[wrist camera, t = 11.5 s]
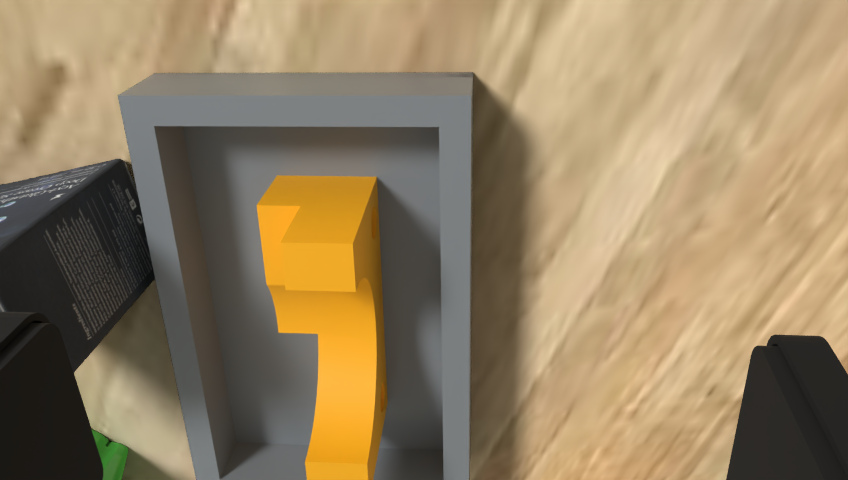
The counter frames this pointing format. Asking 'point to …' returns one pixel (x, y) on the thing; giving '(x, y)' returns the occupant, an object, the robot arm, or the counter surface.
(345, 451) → the orange toy block
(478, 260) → the counter surface
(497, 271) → the counter surface
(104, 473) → the fruit basket
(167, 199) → the tray
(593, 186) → the counter surface
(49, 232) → the box
